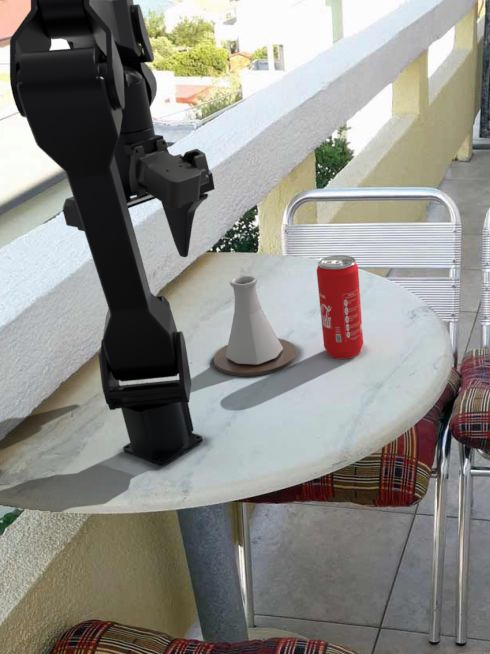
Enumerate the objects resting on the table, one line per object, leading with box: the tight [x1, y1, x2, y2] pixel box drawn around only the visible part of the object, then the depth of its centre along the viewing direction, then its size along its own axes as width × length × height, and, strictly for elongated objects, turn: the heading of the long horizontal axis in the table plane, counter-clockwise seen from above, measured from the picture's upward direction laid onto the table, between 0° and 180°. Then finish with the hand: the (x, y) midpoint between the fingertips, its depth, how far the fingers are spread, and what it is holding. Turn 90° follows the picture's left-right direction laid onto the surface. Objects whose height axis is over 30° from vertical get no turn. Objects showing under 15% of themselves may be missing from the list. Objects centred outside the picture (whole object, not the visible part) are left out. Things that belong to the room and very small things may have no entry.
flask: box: [226, 275, 283, 365], centre depth 110 cm, size 7×7×10 cm
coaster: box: [213, 338, 298, 377], centre depth 113 cm, size 11×11×1 cm
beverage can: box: [316, 254, 364, 360], centre depth 110 cm, size 5×5×12 cm
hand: (157, 268), depth 105 cm, fingers open, 9 cm apart
